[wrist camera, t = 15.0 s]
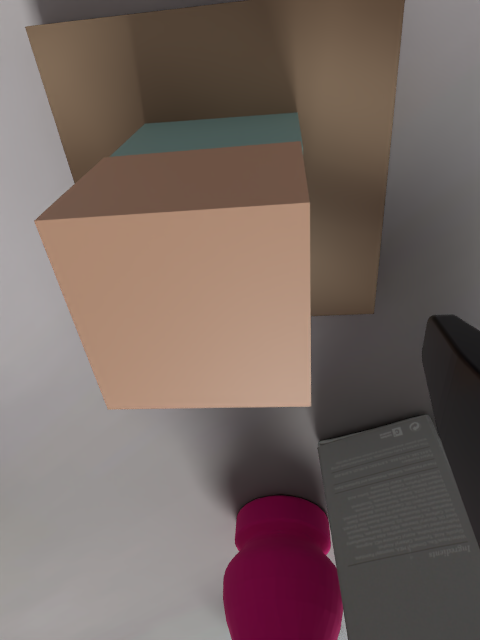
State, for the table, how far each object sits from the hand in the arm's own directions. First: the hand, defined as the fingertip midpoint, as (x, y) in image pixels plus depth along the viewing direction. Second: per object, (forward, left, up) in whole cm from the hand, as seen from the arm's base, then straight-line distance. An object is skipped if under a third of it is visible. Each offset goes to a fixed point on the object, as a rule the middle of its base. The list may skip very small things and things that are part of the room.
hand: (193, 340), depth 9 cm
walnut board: (0, 0, -10) cm, 10 cm away
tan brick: (0, 0, -5) cm, 5 cm away
